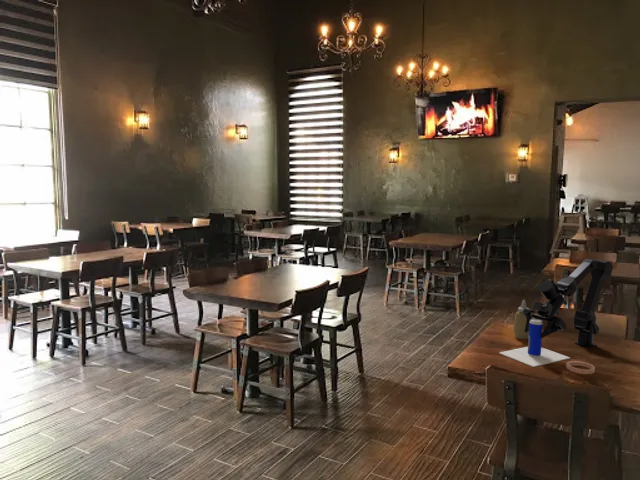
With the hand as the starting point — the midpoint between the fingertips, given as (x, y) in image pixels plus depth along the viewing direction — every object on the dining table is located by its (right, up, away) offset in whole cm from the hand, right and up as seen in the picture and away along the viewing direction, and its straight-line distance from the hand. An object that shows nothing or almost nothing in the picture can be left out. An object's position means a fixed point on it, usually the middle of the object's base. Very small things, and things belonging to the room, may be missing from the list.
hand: (533, 334), depth 223 cm
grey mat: (+1, -9, +2) cm, 10 cm away
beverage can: (+1, -9, +2) cm, 9 cm away
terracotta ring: (+13, -11, -13) cm, 22 cm away
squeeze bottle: (+5, -6, +26) cm, 28 cm away
